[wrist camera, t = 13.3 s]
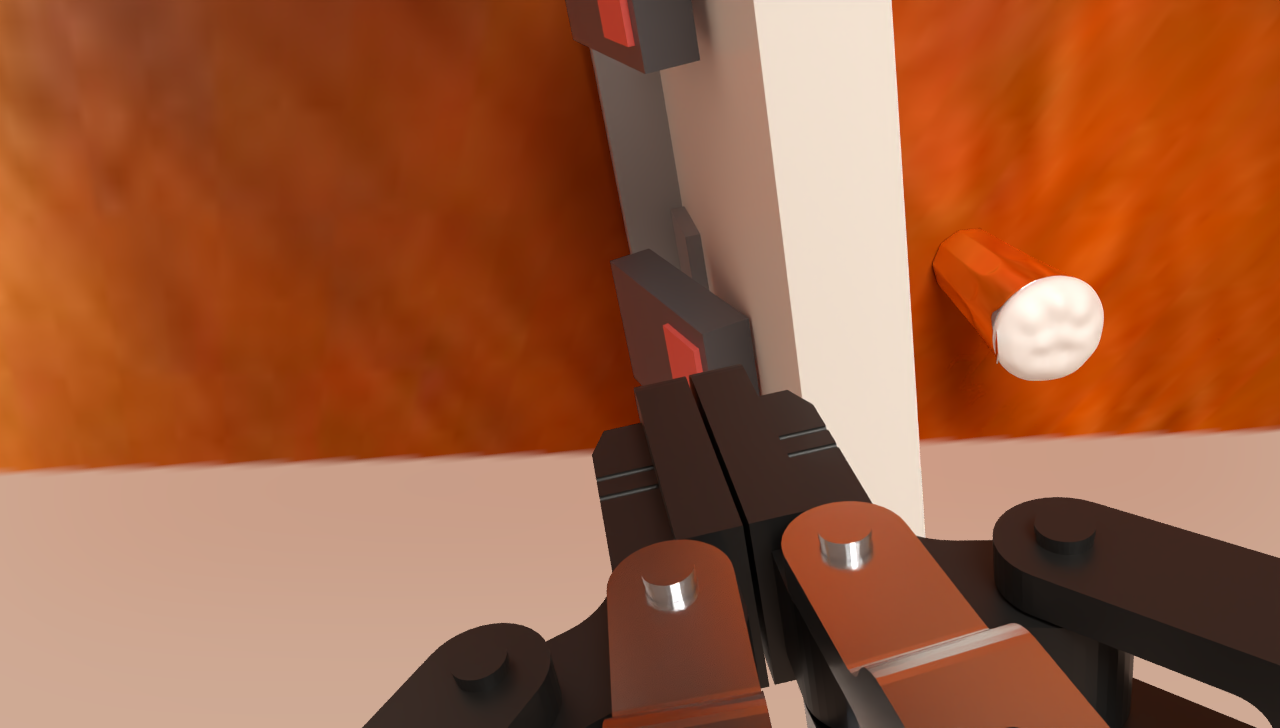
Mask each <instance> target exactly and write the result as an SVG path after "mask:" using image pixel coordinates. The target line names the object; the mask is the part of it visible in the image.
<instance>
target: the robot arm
mask: <svg viewBox="0 0 1280 728" xmlns="http://www.w3.org/2000/svg"><path fill="white" fill-rule="evenodd" d="M689 384H690V386H689ZM689 384H688V381H687V379H686V377H685V376H684V377H680V378H675V379H671V380H666V381H662V382H657V383H653V384H648V385H644V386H639V387H635V388H634V393H635V398H636V403H637V408H638V413H639V418H640V423H638V424H634V425H629V426H625V427H620V428H616V429H611V430H607V431H604V432H603V434H602V436H601V438H600V440H599V442H598V444H597V446H596V448H595V450H594V452H593V454H592V457H593V463H594V468H595V474H596V480H597V485H598V492H599V497H600V503H601V509H602V515H603V520H604V526H605V532H606V537H607V543H608V549H609V555H610V561H611V566H612V574H611V576H610V578H609V581H608V584H607V597H606V599H605V600H604V602H603V603H602V604H601V605H600V607H599V608H598V609H597V610H596V611H595V612H594V613H593V614H592V615H591V616H590V617H588V618H587V619H586V620H584V621H583V622H582V623H580V624H579V625H577V626H575V627H574V628H572V629H570V630H568V631H566V632H564V633H562V634H560V635H558V636H556V637H554V638H552V639H550V640H548V641H546V642H545V640H544V639H543V638H542V637H541V636H540V634H538V633H537V632H535V631H534V630H532V629H530V628H528V627H525V626H522V625H517V624H510V623H497V624H489V625H484V626H479V627H477V628H473V629H470V630H468V631H465V632H463V633H461V634H459V635H457V636H455V637H453V638H452V639H450V640H448V641H447V642H446V643H444V644H443V645H441V646H440V647H439V648H438V649H437V650H436V651H435V652H434V653H433V654H431V655H430V656H429V658H428V659H427V660H426V661H425V662H424V663H423V664H422V665H421V666H420V667H419V668H418V669H417V670H416V671H415V672H414V674H412V676H411V677H410V678H409V679H408V680H407V681H406V682H405V683H404V684H403V685H402V686H401V687H400V688H399V689H398V690H397V692H396V693H395V694H394V695H393V696H392V697H391V698H390V699H389V700H388V701H387V702H386V703H385V704H384V705H383V707H381V708H380V709H379V711H378V712H377V713H376V714H375V715H374V716H373V717H372V718H371V719H370V720H369V721H368V722H367V723H366V724H365V725H364V727H362V728H772V726H771V722H770V717H769V713H768V709H767V705H766V700H765V696H764V693H763V691H761V688H765V687H769V682H768V675H767V670H766V663H765V658H766V661H767V663H768V667H769V669H770V672H771V675H772V678H773V681H774V684H780V683H784V682H788V681H792V680H797V683H798V685H799V688H800V690H801V693H802V695H803V699H804V705H805V713H806V719H807V726H808V728H1256V727H1253V726H1251V725H1248V724H1246V723H1244V722H1241V721H1238V720H1236V719H1234V718H1231V717H1229V716H1226V715H1224V714H1221V713H1219V712H1216V711H1214V710H1211V709H1209V708H1207V707H1204V706H1202V705H1199V704H1196V703H1194V702H1192V701H1189V700H1187V699H1184V698H1182V697H1179V696H1177V695H1174V694H1172V693H1170V692H1167V691H1164V690H1162V689H1160V688H1157V687H1155V686H1152V685H1150V684H1147V683H1145V682H1142V681H1140V680H1137V679H1135V678H1132V677H1133V659H1134V656H1137V657H1140V658H1142V659H1144V660H1147V661H1150V662H1152V663H1155V664H1157V665H1160V666H1162V667H1165V668H1168V669H1170V670H1173V671H1175V672H1178V673H1180V674H1183V675H1186V676H1188V677H1191V678H1193V679H1196V680H1198V681H1201V682H1203V683H1206V684H1208V685H1211V686H1214V687H1216V688H1219V689H1222V690H1224V691H1226V692H1229V693H1232V694H1234V695H1236V696H1239V697H1241V698H1243V699H1244V700H1246V701H1248V702H1249V703H1251V704H1252V705H1253V706H1255V707H1256V708H1257V709H1258V710H1259V711H1260V712H1262V713H1263V715H1264V716H1265V717H1266V718H1267V719H1268V721H1269V722H1270V724H1271V725H1272V727H1273V728H1280V558H1277V557H1274V556H1271V555H1267V554H1264V553H1260V552H1257V551H1254V550H1251V549H1247V548H1244V547H1241V546H1237V545H1234V544H1230V543H1227V542H1224V541H1220V540H1217V539H1213V538H1211V537H1207V536H1204V535H1200V534H1197V533H1194V532H1191V531H1187V530H1184V529H1180V528H1177V527H1174V526H1171V525H1167V524H1164V523H1161V522H1157V521H1154V520H1151V519H1147V518H1144V517H1140V516H1137V515H1134V514H1130V513H1127V512H1123V511H1120V510H1117V509H1114V508H1110V507H1107V506H1104V505H1100V504H1097V503H1093V502H1089V501H1085V500H1081V499H1074V498H1062V497H1053V498H1042V499H1035V500H1031V501H1027V502H1024V503H1022V504H1019V505H1016V506H1014V507H1013V508H1011V509H1009V510H1008V511H1006V512H1005V513H1004V514H1003V515H1002V516H1001V517H1000V518H999V519H998V521H997V522H996V524H995V527H994V529H993V540H981V541H980V540H978V541H977V540H974V541H950V540H936V539H928V538H924V537H920V536H916V535H915V534H914V533H913V531H912V530H911V529H910V527H909V526H908V525H907V524H906V522H905V521H904V520H903V519H902V518H901V517H900V516H898V515H897V514H895V513H894V512H893V511H891V510H889V509H886V508H884V507H881V506H878V505H875V504H873V503H872V502H871V500H870V498H869V497H868V495H867V493H866V492H865V490H864V488H863V487H862V485H861V483H860V482H859V480H858V478H857V477H856V475H855V473H854V472H853V470H852V468H851V467H850V465H849V463H848V462H847V460H846V458H845V457H844V455H843V453H842V452H841V450H840V448H839V447H837V445H836V442H835V440H834V438H833V437H832V435H831V433H830V432H829V430H827V429H826V425H825V423H824V422H823V420H822V418H821V417H820V415H819V413H818V412H817V410H816V408H815V407H814V405H813V404H811V403H810V402H808V401H806V400H804V399H803V398H801V397H799V396H797V395H796V394H794V393H792V392H790V391H789V390H783V391H779V392H775V393H770V394H766V395H761V396H758V395H757V393H756V391H755V389H754V387H753V385H752V383H751V381H750V379H749V377H748V375H747V373H746V371H745V369H744V367H743V365H742V364H737V365H732V366H728V367H723V368H719V369H714V370H710V371H705V372H701V373H697V374H692V375H689ZM764 655H765V657H764Z"/></svg>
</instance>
